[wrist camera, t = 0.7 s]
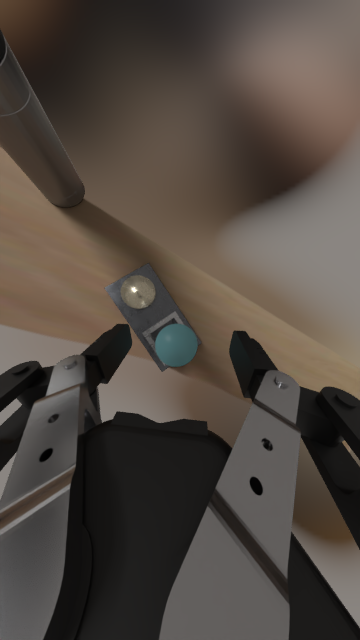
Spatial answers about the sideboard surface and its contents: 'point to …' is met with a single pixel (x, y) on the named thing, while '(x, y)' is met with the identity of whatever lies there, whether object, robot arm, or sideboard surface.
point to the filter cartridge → (176, 345)
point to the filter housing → (146, 307)
